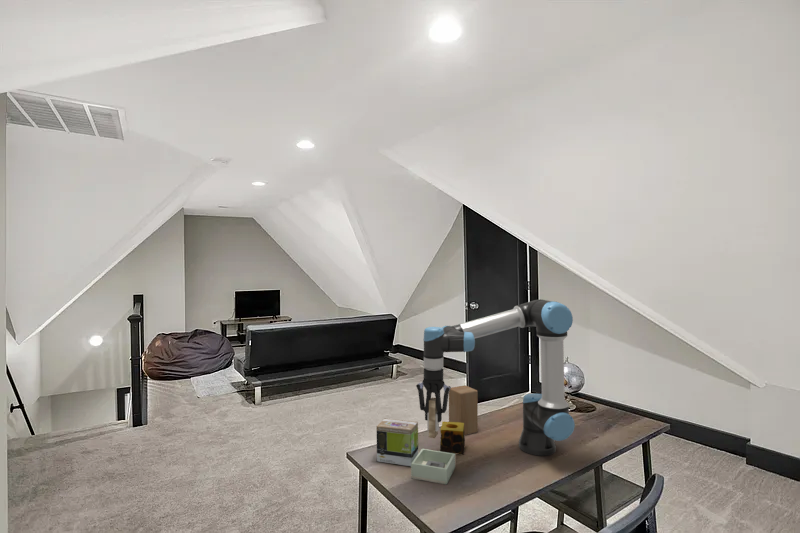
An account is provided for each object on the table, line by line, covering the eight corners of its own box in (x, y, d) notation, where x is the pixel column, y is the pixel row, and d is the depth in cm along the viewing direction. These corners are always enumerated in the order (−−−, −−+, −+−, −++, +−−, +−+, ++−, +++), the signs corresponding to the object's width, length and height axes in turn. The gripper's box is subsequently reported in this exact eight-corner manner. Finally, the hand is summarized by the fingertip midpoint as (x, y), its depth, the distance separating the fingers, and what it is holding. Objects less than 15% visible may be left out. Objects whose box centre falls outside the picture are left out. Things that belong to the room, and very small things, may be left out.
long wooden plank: (437, 434, 166) (437, 398, 166) (434, 438, 162) (435, 401, 162) (431, 433, 167) (431, 397, 167) (428, 437, 163) (428, 400, 163)
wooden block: (448, 429, 208) (448, 387, 207) (465, 425, 212) (465, 384, 212) (460, 436, 199) (460, 393, 198) (478, 432, 203) (477, 390, 203)
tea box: (418, 456, 179) (418, 421, 178) (411, 467, 169) (411, 430, 169) (384, 451, 184) (384, 416, 183) (376, 462, 174) (375, 425, 174)
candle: (464, 455, 180) (463, 431, 180) (439, 453, 182) (439, 429, 182) (465, 445, 190) (465, 422, 190) (442, 443, 192) (442, 420, 192)
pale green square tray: (455, 467, 169) (455, 453, 169) (446, 484, 156) (446, 469, 156) (422, 462, 174) (422, 448, 174) (411, 478, 161) (411, 463, 161)
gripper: (455, 367, 165) (455, 428, 165) (417, 364, 171) (417, 423, 171) (451, 372, 158) (450, 436, 158) (411, 368, 163) (410, 430, 164)
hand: (433, 429), depth 165 cm, fingers closed on long wooden plank, 2 cm apart
